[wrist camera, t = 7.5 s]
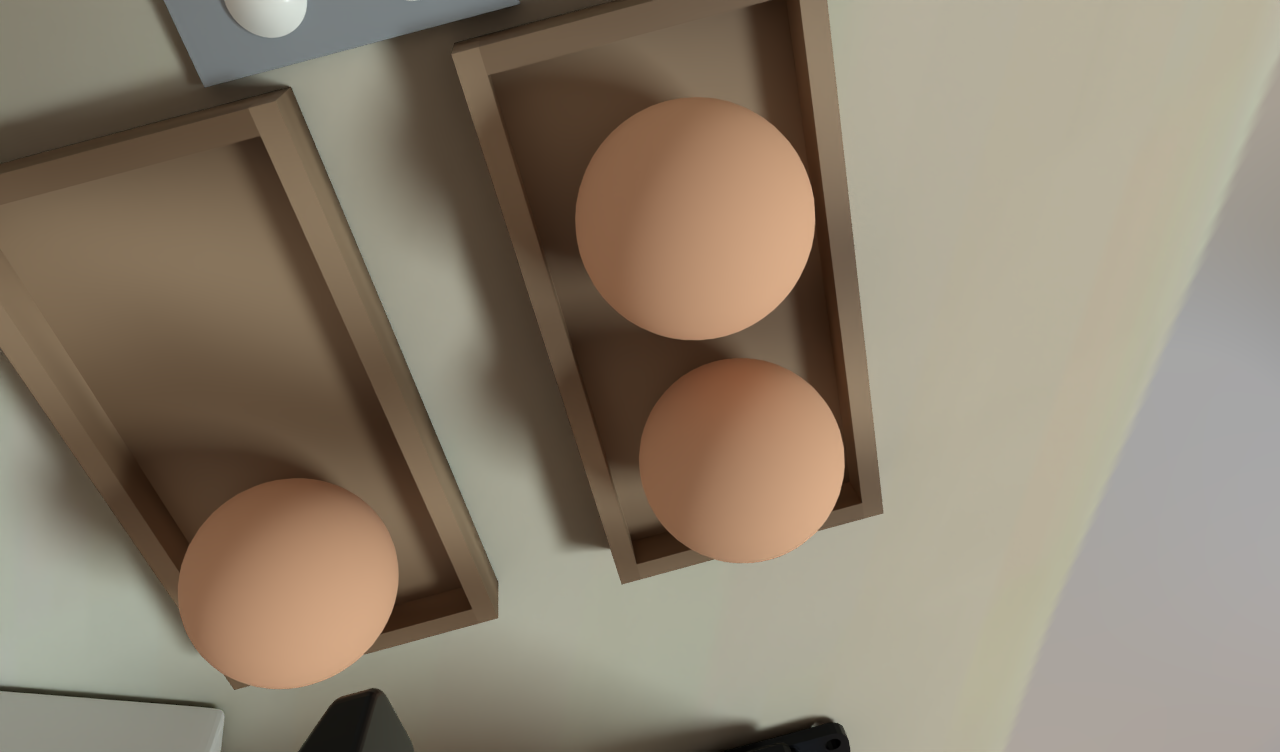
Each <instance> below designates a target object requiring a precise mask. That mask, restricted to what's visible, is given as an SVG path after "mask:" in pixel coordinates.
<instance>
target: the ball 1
mask: <svg viewBox="0 0 1280 752" xmlns="http://www.w3.org/2000/svg"><path fill="white" fill-rule="evenodd" d="M398 579H399V570H398V560H397V555H396V550H395V546H394V544H393V541H392V539H391V536H390V534H389V531H388V530H387V528H386V526H385V524H384V523H383V521H382V520H381V519H380V517H379V516H378V515H377V514H376V512H375V511H374V510H373V509H372V508H371V507H370V506H369V505H368V504H367V503H366V502H364V501H363V500H362V499H360V498H359V497H358V496H356V495H355V494H353V493H351V492H350V491H348V490H346V489H344V488H342V487H340V486H337V485H335V484H331V483H328V482H325V481H320V480H315V479H306V478H291V479H281V480H275V481H270V482H266V483H263V484H260V485H257V486H254V487H252V488H249V489H247V490H245V491H243V492H241V493H239V494H237V495H236V496H234V497H233V498H231V499H229V500H228V501H227V502H225V503H224V504H223V505H221V506H220V507H219V508H218V509H217V510H215V511H214V512H213V513H212V514H211V515H210V516H209V518H208V519H207V520H206V521H205V522H204V523H203V524H202V526H201V527H200V528H199V530H198V531H197V533H196V535H195V536H194V538H193V540H192V541H191V543H190V545H189V546H188V549H187V551H186V554H185V557H184V559H183V562H182V565H181V570H180V575H179V582H178V604H179V610H180V616H181V619H182V622H183V625H184V628H185V630H186V633H187V635H188V637H189V638H190V640H191V642H192V643H193V645H194V647H195V648H196V650H197V651H198V652H199V653H200V655H201V656H202V657H203V658H204V659H205V660H206V661H207V662H209V663H210V664H211V665H212V666H213V667H214V668H216V669H217V670H218V671H220V672H221V673H223V674H224V675H226V676H228V677H230V678H232V679H234V680H236V681H239V682H242V683H245V684H248V685H252V686H256V687H261V688H269V689H291V688H298V687H303V686H308V685H311V684H314V683H317V682H320V681H323V680H325V679H328V678H330V677H332V676H334V675H336V674H338V673H339V672H341V671H343V670H344V669H346V668H347V667H349V666H350V665H352V664H353V663H354V662H356V661H357V660H358V659H359V658H360V657H361V656H362V655H363V654H364V653H365V652H366V651H367V650H368V649H369V648H370V647H371V646H372V645H373V643H374V642H375V641H376V639H377V638H378V637H379V635H380V634H381V632H382V631H383V629H384V627H385V625H386V623H387V622H388V619H389V617H390V615H391V613H392V610H393V607H394V604H395V600H396V596H397V590H398Z"/></svg>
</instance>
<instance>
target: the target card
mask: <svg viewBox="0 0 1280 752" xmlns="http://www.w3.org/2000/svg"><path fill="white" fill-rule="evenodd" d="M164 2H165V4H166V6H167V8H168V11H169V13H170V15H171V17H172V19H173V21H174V23H175V26H176V28H177V30H178V32H179V34H180V36H181V38H182V41H183V43H184V45H185V47H186V49H187V51H188V53H189V56H190V58H191V60H192V62H193V64H194V66H195V68H196V71H197V73H198V75H199V77H200V79H201V81H202V83H203V85H204V88H205V87H209V86H213V85H216V84H220V83H224V82H228V81H231V80H235V79H239V78H243V77H247V76H250V75H254V74H258V73H262V72H265V71H269V70H273V69H277V68H280V67H284V66H288V65H292V64H295V63H299V62H303V61H307V60H311V59H314V58H318V57H322V56H326V55H329V54H333V53H337V52H341V51H344V50H348V49H352V48H356V47H360V46H363V45H367V44H371V43H375V42H378V41H382V40H386V39H390V38H393V37H397V36H401V35H405V34H409V33H412V32H416V31H420V30H424V29H427V28H431V27H435V26H439V25H442V24H446V23H450V22H454V21H457V20H461V19H465V18H469V17H473V16H476V15H480V14H484V13H488V12H491V11H495V10H499V9H503V8H506V7H510V6H514V5H518V4H520V1H519V0H164Z"/></svg>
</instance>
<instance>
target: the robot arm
mask: <svg viewBox="0 0 1280 752" xmlns="http://www.w3.org/2000/svg"><path fill="white" fill-rule="evenodd" d="M298 752H414V748H413V745H412V742H411V740H410V738H409V736H408V735H407V733H406V731H405V729H404V727H403V725H402V724H401V722H400V720H399V718H398V716H397V714H396V713H395V711H394V709H393V707H392V705H391V704H390V702H389V700H388V698H387V697H386V695H385V694H384V693H383V692H382V691H381V690H379V689H375V688H372V689H368V690H364V691H360V692H357V693H353V694H349V695H346V696H342V697H340V698H338V699H336V700H335V701H334V702H333V703H332V704H331V705H330V706H329V708H328V709H327V711H326V712H325V714H324V715H323V716H322V718H321V719H320V721H319V722H318V724H317V725H316V726H315V728H314V729H313V731H312V732H311V734H310V735H309V737H308V738H307V739H306V741H305V742H304V744H303V745H302V747H301V748H300V750H299V751H298ZM725 752H850V746H849V740H848V738H847V735H846V733H845V730H844V728H843V726H842V725H840V724H838V723H827V724H823V725H820V726H816V727H812V728H809V729H805V730H801V731H798V732H794V733H790V734H787V735H783V736H780V737H776V738H772V739H769V740H765V741H761V742H758V743H754V744H750V745H747V746H743V747H739V748H736V749H732V750H729V751H725Z"/></svg>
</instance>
